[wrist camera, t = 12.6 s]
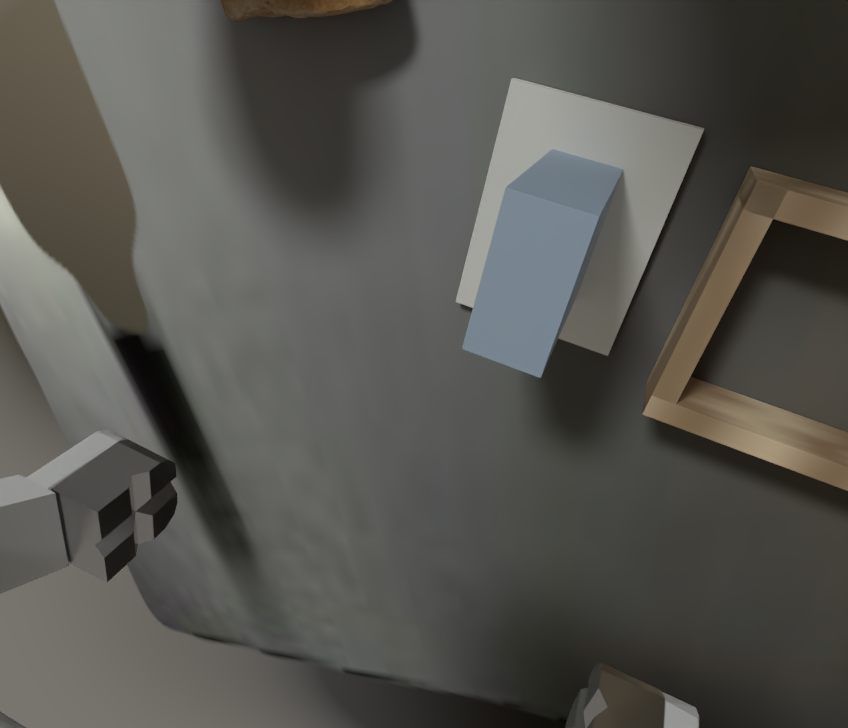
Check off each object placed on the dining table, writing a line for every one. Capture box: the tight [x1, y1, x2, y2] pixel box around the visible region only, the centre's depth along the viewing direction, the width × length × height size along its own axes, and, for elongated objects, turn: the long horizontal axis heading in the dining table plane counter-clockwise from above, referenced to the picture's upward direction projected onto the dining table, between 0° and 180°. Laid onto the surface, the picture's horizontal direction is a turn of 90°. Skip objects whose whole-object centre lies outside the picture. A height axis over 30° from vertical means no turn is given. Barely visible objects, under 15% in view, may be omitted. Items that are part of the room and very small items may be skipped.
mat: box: [456, 78, 704, 356], centre depth 31 cm, size 9×12×1 cm
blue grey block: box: [462, 149, 623, 378], centre depth 27 cm, size 4×7×9 cm, turn 168°
